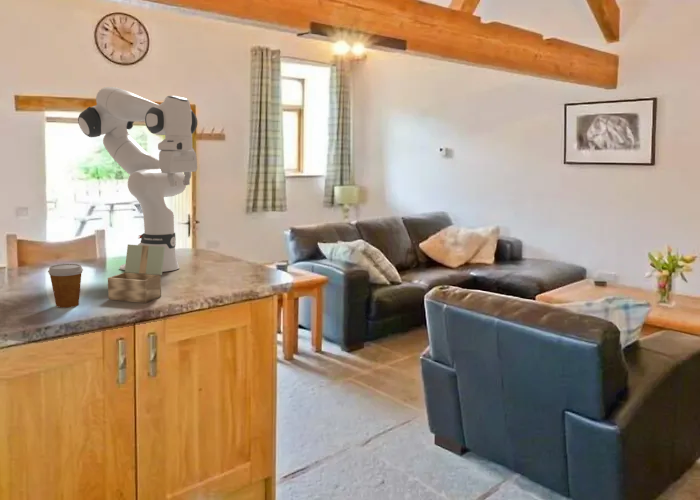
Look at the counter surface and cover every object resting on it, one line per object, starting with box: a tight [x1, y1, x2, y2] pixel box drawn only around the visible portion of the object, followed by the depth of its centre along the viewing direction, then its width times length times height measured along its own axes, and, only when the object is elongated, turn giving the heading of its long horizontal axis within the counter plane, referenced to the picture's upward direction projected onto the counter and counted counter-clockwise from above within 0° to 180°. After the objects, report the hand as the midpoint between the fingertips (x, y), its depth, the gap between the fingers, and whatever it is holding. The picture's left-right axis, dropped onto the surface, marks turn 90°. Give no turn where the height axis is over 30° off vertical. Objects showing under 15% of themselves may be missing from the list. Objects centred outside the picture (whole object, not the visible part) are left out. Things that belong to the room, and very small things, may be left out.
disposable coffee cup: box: [47, 263, 84, 309], centre depth 185 cm, size 10×10×12 cm
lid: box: [124, 244, 165, 276], centre depth 201 cm, size 13×9×1 cm
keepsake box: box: [107, 271, 162, 304], centre depth 196 cm, size 13×9×7 cm
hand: (179, 185), depth 212 cm, fingers open, 8 cm apart
